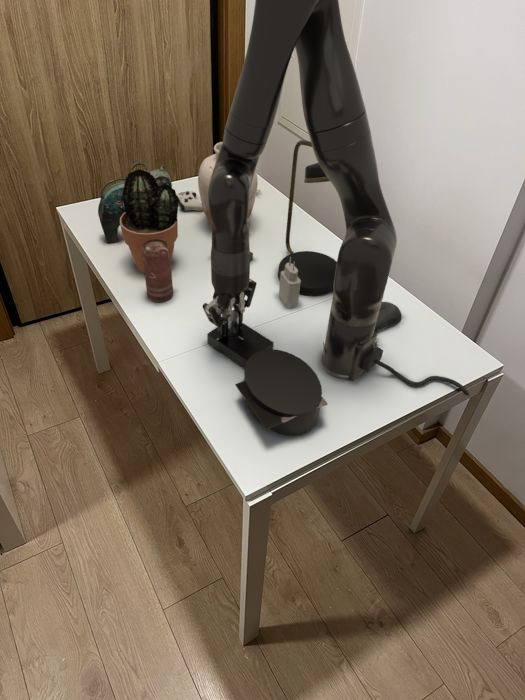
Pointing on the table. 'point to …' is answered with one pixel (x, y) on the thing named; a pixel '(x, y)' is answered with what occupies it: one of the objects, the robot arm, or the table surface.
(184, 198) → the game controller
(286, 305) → the power adapter
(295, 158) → the lamp
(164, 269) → the can
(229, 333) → the knob
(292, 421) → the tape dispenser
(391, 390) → the table surface
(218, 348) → the panel
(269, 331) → the table surface
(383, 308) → the computer mouse
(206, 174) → the vase
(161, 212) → the potted plant
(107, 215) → the ceramic cat
